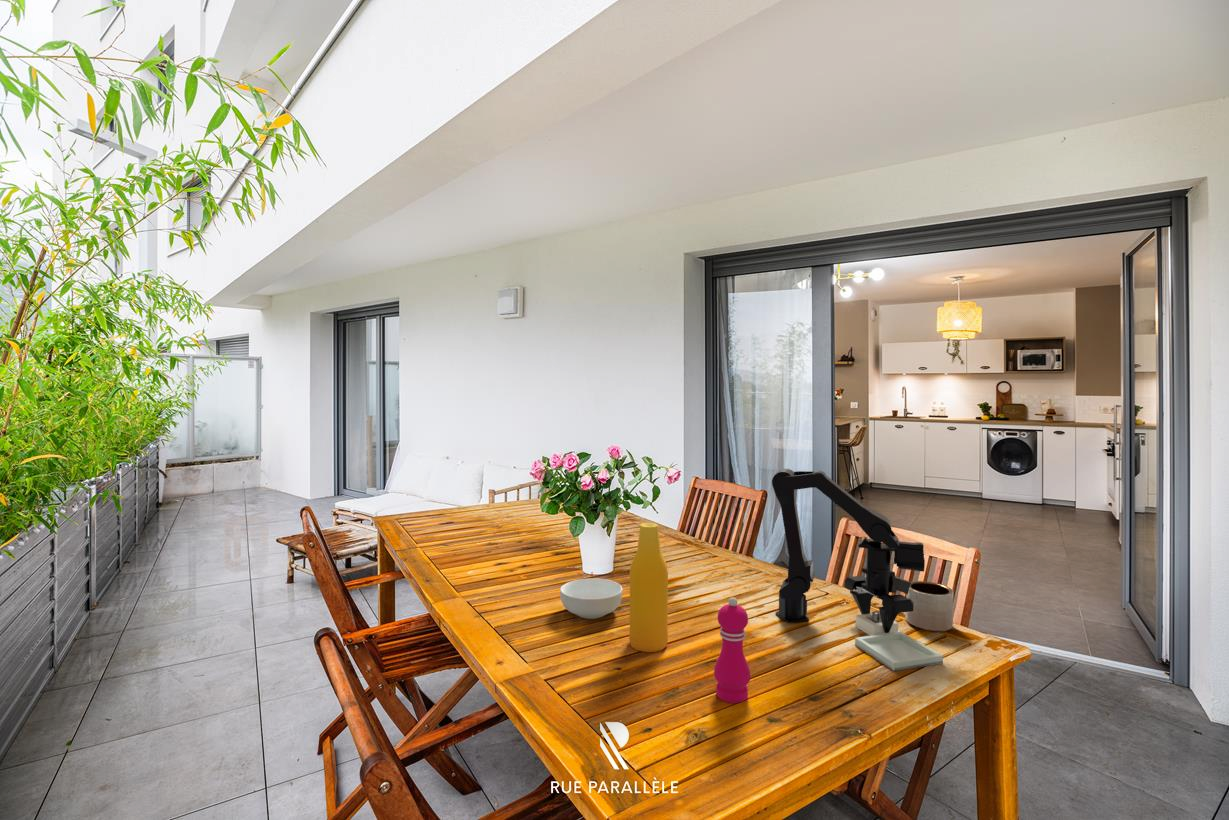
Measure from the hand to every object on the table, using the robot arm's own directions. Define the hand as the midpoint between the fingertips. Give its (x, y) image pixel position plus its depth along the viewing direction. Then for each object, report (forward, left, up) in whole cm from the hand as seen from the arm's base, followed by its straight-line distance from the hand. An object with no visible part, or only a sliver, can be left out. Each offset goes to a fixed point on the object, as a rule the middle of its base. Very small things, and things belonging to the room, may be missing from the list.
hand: (876, 626), depth 149 cm
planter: (+16, 0, -1) cm, 16 cm away
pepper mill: (-49, -18, -1) cm, 52 cm away
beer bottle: (-58, +8, -1) cm, 59 cm away
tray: (-4, -12, -1) cm, 13 cm away
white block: (0, 0, -1) cm, 1 cm away
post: (0, 0, -1) cm, 1 cm away
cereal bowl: (-67, +30, -1) cm, 73 cm away
